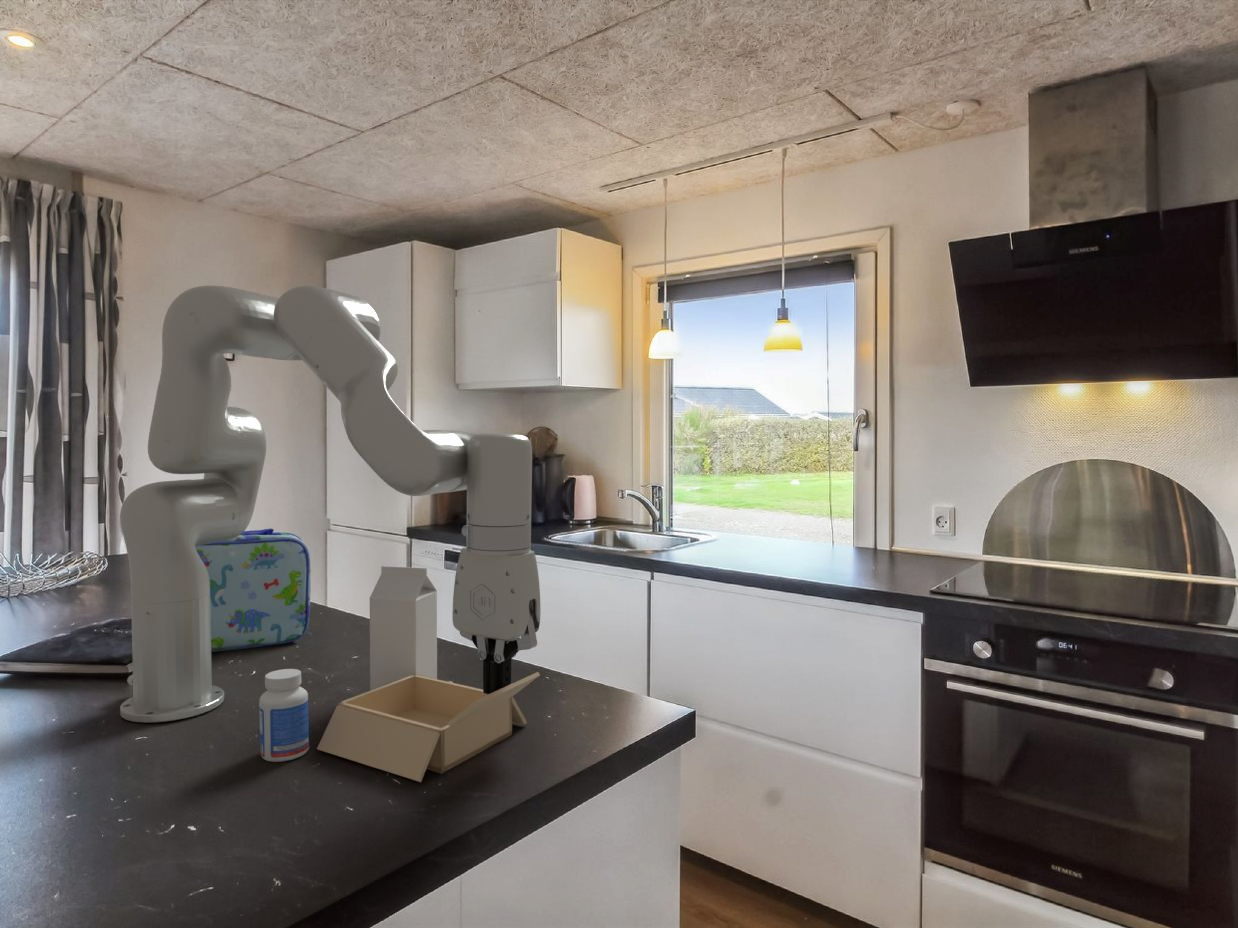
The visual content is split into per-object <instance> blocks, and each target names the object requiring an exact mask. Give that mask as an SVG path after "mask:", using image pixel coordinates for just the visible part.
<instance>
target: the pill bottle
mask: <svg viewBox="0 0 1238 928" xmlns="http://www.w3.org/2000/svg"><path fill="white" fill-rule="evenodd" d="M302 681H303V680H302V672H301V670H299V669H297V668H296V669H295V668H284V669H283V668H282V669H277V670H272V671H270V672H268V673H266V674H265V675H264V686H265V687H264V688H265V689H266V691H264V692H263V693H262V694H261V695H260V696H259V700H258V703H259V704H258V707H259V708H258V710H259V714H258V716H259V746H260V747H259V748H260V749H259V750H260V752H259V753H260V756H261V758H262V759H263V760H265V761H267V762H272V763H279V762H287V761H292V760H295V759H298V758H300V757H302V756H304V755H306V753H307V752H308V751H309V749H310V732H309V731H310V730H309V729H310V728H309V727H310V726H309V693H308V691H307V690H306V689H304V688H303V687H302V686H301V684H302Z"/></svg>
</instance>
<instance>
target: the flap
mask: <svg viewBox="0 0 1238 928" xmlns="http://www.w3.org/2000/svg"><path fill="white" fill-rule="evenodd" d="M540 676H541V674H540V672H539V671H536V672H535V673H532V674H530V675H527V676H525V677H524V678H522V679H519V680H516V681H515V682H511V684H510V685H508V686H506V687H504V688H502V689H499V690H497V691H495V692H493V693H491V694H489V695H486V696H484V697H482V698H480V699H478V700H476V701H475V702H473V703H472V704H471V705H470V706H468V707H467V708H466V709H465V710H463V711H462V712H461V713H460V714H458V715H457V716H456V717H454V718H453V719H452V720H451V721H449V722H448V724H449V726H452V725H454V724H457V723H459V722H461V721H463V720H465V719H467V718H469V717H471V716H473V715H475V714H477V713H479V712H481V711H483V710H486V709H488V708H490V707H492V706H494V705H496V704H498V703H500V702H502V701H504V700H506V699H508V698H510V697H512V696H513V697H514V696H515V695H517V694H518V693H519V692H520V691H521V690H523V689H524V688H526V687H527V686H528V685H529V684H530V683H532V682H533V681H535V680H536V679H537V678H539V677H540Z"/></svg>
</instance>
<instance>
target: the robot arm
mask: <svg viewBox="0 0 1238 928" xmlns="http://www.w3.org/2000/svg"><path fill="white" fill-rule="evenodd" d="M380 337H381V324H380V318H379V317H378V314H377V313H376V311H375V310H374V308H373V307H372V305H371V304H369V303H368V302H367V301H366V300H364V299H362V298H360V297H358V296H356V295H352V294H349V293H345V292H341V291H338V290H334V289H330V288H325V287H322V286H318V285H299V286H295V287H292V288H290V289H288V290H287V291H285V292H284V293H283V294H281V296H279V297H275V296H271V295H266V294H261V293H258V292H253V291H251V290H244V289H242V288H241V289H240V288H236V287H230V286H223V285H200V286H195V287H191V288H190V289H189V288H188V290H185V291H183V292H182V293H180V294H179V295H178V296H177V297H176V298H175V299H174V300H172V302H171V304H170V305H169V306H168V308H167V310H166V313H165V317H164V319H163V324H162V331H161V347H162V349H161V350H162V351H161V352H162V353H161V354H162V355H161V368H160V369H161V370H160V376H159V381H158V385H157V389H156V393H155V395H156V396H155V401H154V404H153V405H154V406H153V412H152V416H151V421H150V428H149V432H148V433H149V434H148V439H147V440H148V441H147V454H148V458H149V461H150V462H151V464H152V465H153V466H154V467H155V468H156V469H158V470H160V471H161V472H165V473H168V474H172V475H174V474H175V475H195V474H196V475H198V474H199V475H200V474H202V475H203V478H198V479H197V478H196V479H177V480H165V481H164V480H163V481H155V482H152V483H148V484H145V485H142V486H140V487H138V488H136V489H134V490H133V491H132V492H130V493H129V494H128V495H127V497H126V498H125V499H124V501H123V502H122V504H121V507H120V513H119V520H120V528H121V532H122V536H123V539H124V544H125V548H126V553H127V559H128V565H129V578H130V579H129V580H130V603H131V604H130V606H131V644H132V645H131V648H132V649H131V650H132V651H131V652H132V655H131V656H132V657H131V658H132V674H131V675H129V676H128V677H127V678H126V679H127V680H126V683H128V685H130V686H132V691H133V692H132V695H133V696H131V697H129V698H127V699H125V700H124V701H123V702H122V703H121V704H120V707H119V714H120V717H121V718H123V720H126V721H129V722H135V723H142V724H143V723H145V724H146V723H148V724H149V723H165V722H173V721H178V720H179V721H180V720H183V719H187V718H191V717H196V716H199V715H201V714H204V713H207V712H210V711H212V710H214V709H216V708H217V707H219V706H220V705H221V704H223V702H224V701H225V691H224V690H223V688H221V687H219V686H217V685H214V684H212V683H213V682H212V673H213V672H212V652H211V603H210V579H209V574H208V571H207V569H206V566H205V565H204V563H203V561H202V560H201V558H200V556H199V555H198V553H197V551H196V549H195V547H196V546H200V545H204V544H210V543H216V542H222V541H226V540H230V539H233V538H235V537H237V536H239V535H240V534H242V533H243V532H244V531H246V529H247V528H248V526H249V525H250V522H251V520H252V517H253V515H254V510H255V507H256V503H257V498H258V494H259V493H258V492H259V489H260V484H261V478H262V475H263V469H264V465H265V460H266V455H267V438H266V433H265V430H264V427H263V425H262V422H261V421H260V420H259V419H258V417H257V416H256V415H254V414H253V413H252V412H251V411H248V410H247V409H244V408H240V407H236V406H229V405H228V404H229V398H230V394H231V390H232V375H231V371H230V366H229V364H228V361H227V360H226V357H225V354H232V355H239V356H240V355H242V356H246V357H247V356H248V357H252V358H253V357H255V358H261V359H263V358H264V359H271V360H278V361H303V362H304V363H305V364H306V366H308V367H307V368H309V369H310V370H311V371H312V372H313V373H314V375H315V376H316V377H317V378H318V379H319V380H320V381H321V383H323V384H324V385H325V386H326V388H327V389H328V390H329V391H330V392H331V394H333V395H334V396H335V398H336V399H337V400H338V401H339V403H340V415H341V420H342V423H343V426H344V430H345V433H346V436H347V438H348V441H349V443H350V444H351V446H352V447H353V449H354V450H355V451H356V452H357V454H358V455H359V456H360V457H361V459H362V460H363V461H364V462H365V463H366V464H367V465H368V466H369V467H370V469H371V470H372V471H373V472H374V473H375V474H376V475H377V476H378V477H379V478H380V479H381V480H382V481H383V482H384V483H385V484H386V485H388V486H389V487H391V489H393V490H395V491H396V492H398V493H401V494H403V495H406V496H410V497H422V496H423V497H425V496H430V495H436V494H446V493H453V492H460V491H466V524H465V525H463V526H462V527H461V535H462V536H464V537H466V547H461V549H460V552H459V555H458V561H457V564H456V571H455V576H454V585H453V596H452V598H453V599H452V625H453V628H455V629H456V630H457V631H458V632H459V635H460V636H461V637H463V638H464V639H466V640H469V641H470V642H472V643H473V644H474V646H475V648H476V649H477V654H478V657H479V659H480V660H482V661H483V662H482V689H483V693H485V694H491V693H493V692H495V691H497V690H499V689H502V688H504V687H506V686H508V685H510V684H512V659H513V658H515V657H516V656H517V654H518V653H519V651H525V650H526V651H527V650H531V649H533V648H536V647H537V645H538V640H537V634H536V633H537V632H538V631H539V630H540V625H541V588H540V577H539V569H538V562H537V558H536V557H537V556H536V553H535V550H532V548H531V545H532V495H533V493H532V487H533V486H532V485H533V484H532V483H533V482H532V481H533V479H532V478H533V445H532V442H531V440H530V439H529V438H528V437H527V436H526V435H523V434H516V433H479V434H478V433H473V432H468V431H461V430H452V429H451V430H445V429H443V430H442V429H420V428H419V427H418V426H417V425H416V424H415V423H414V422H413V421H412V420H411V419H410V418H409V417H408V416H407V415H406V414H405V413H404V412H403V411H402V410H401V409H400V407H399V406H398V405H397V404H396V403H395V401H394V400H393V398H392V396H391V395H390V394H389V391H390V389H391V388H392V386H393V385H394V382H395V381H396V378H397V376H398V373H399V372H398V370H399V369H398V367H399V366H398V363H397V360H396V358H395V357H394V356H393V355H392V354H391V353H390V352H389V350H388V349H386V348H385V346H383V345H382V343H380V342H379V341H380Z"/></svg>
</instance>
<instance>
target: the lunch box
mask: <svg viewBox="0 0 1238 928" xmlns="http://www.w3.org/2000/svg"><path fill="white" fill-rule="evenodd" d="M195 549H196V551H197V553H198V555H199V556H200V558H201V560H202V561H203V563H204V565H205V566H206V569H207V571H208V574H209V579H210V603H211V653H215V652H216V653H218V652H222V651H223V652H224V651H225V652H226V651H235V650H242V649H250V648H251V649H252V648H259V647H265V646H273V645H280V644H281V645H282V644H288V643H291V642H294V641H296V640H298V639H300V638H302V637H303V636H304V635H305V634H306V632H307V630H308V627H309V624H310V623H309V622H310V613H311V612H310V611H311V594H312V593H311V591H312V589H311V588H312V585H311V584H312V580H311V579H312V578H311V576H312V575H311V572H312V571H311V570H312V568H311V556H310V551H309V548H308V546H307V545H306V543H305V542H304V541H303V540H302V538H301V537H300V536H298V535H296V534H294V533H291V532H278V531H277V532H274V528H269V527H268V528H264V529H257V530H256V529H255V530H245V531H244V532H243V533H242V534H240V535H239V536H237V537H235V538H233V539H230V540H226V541H222V542H216V543H210V544H204V545H200V546H196V547H195Z"/></svg>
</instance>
